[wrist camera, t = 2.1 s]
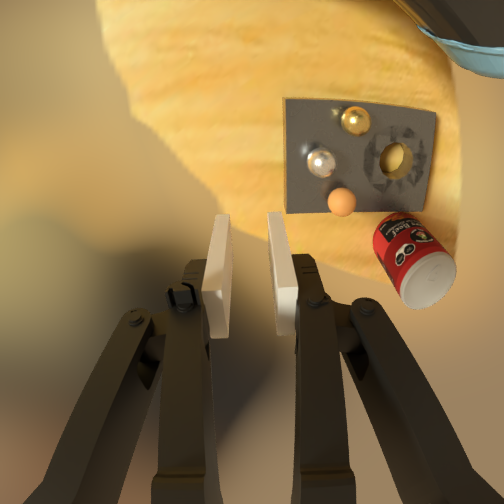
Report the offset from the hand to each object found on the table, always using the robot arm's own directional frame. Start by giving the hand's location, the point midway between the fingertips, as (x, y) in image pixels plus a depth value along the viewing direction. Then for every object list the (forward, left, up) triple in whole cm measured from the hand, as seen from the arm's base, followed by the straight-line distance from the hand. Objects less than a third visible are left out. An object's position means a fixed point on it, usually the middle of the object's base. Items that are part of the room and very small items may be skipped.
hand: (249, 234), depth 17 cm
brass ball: (-4, +11, -14) cm, 19 cm away
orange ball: (+5, +10, -14) cm, 18 cm away
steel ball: (0, +7, -14) cm, 16 cm away
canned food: (+12, +20, -19) cm, 30 cm away
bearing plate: (0, +13, -18) cm, 23 cm away
